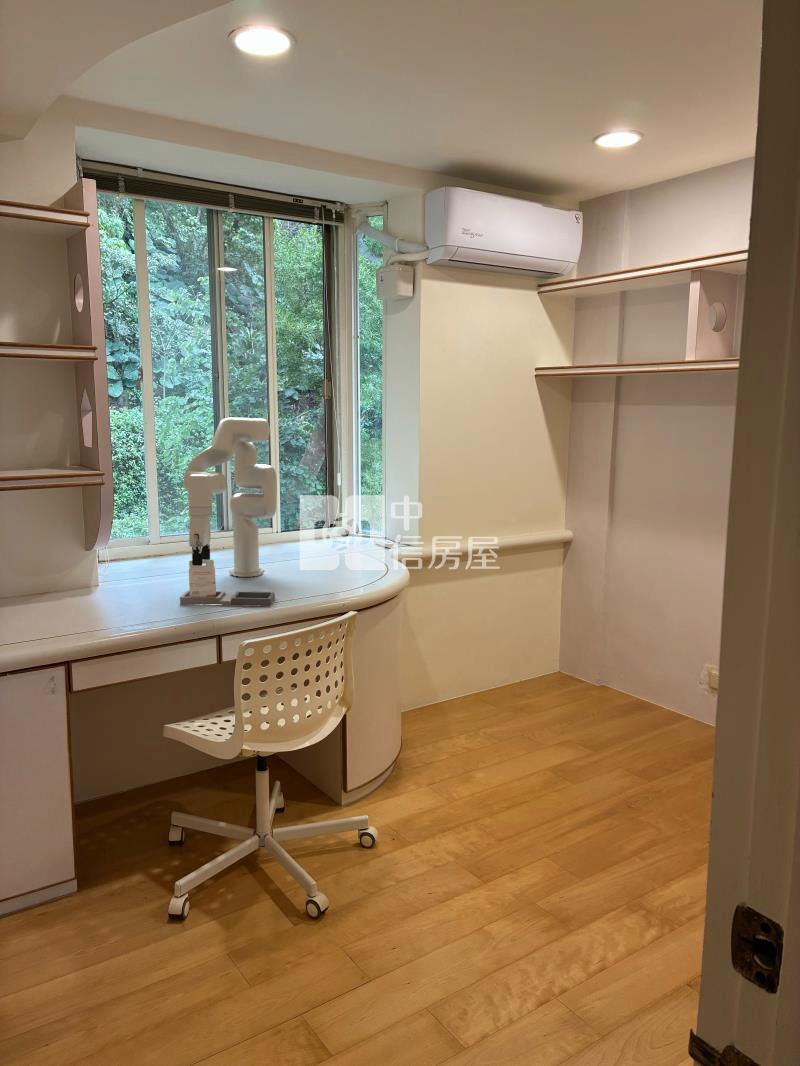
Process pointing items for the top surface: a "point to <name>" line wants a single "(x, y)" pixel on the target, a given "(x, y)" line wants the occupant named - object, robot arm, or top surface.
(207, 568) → the ink cartridge box
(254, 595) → the grey tray
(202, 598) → the brown rectangular tray
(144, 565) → the top surface
